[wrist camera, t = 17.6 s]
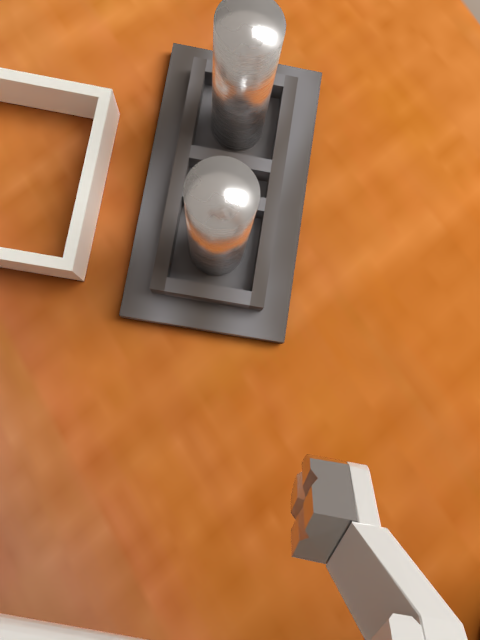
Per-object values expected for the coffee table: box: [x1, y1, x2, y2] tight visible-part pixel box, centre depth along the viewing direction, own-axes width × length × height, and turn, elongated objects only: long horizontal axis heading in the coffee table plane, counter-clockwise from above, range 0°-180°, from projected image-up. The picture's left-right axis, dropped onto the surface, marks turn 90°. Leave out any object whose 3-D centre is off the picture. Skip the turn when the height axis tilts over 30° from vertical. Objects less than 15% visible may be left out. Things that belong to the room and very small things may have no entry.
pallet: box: [119, 43, 322, 344], centre depth 33 cm, size 12×22×2 cm, turn 171°
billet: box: [183, 156, 260, 276], centre depth 28 cm, size 4×4×10 cm
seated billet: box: [211, 0, 286, 151], centre depth 29 cm, size 4×4×10 cm
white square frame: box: [0, 68, 120, 281], centre depth 32 cm, size 14×14×3 cm
